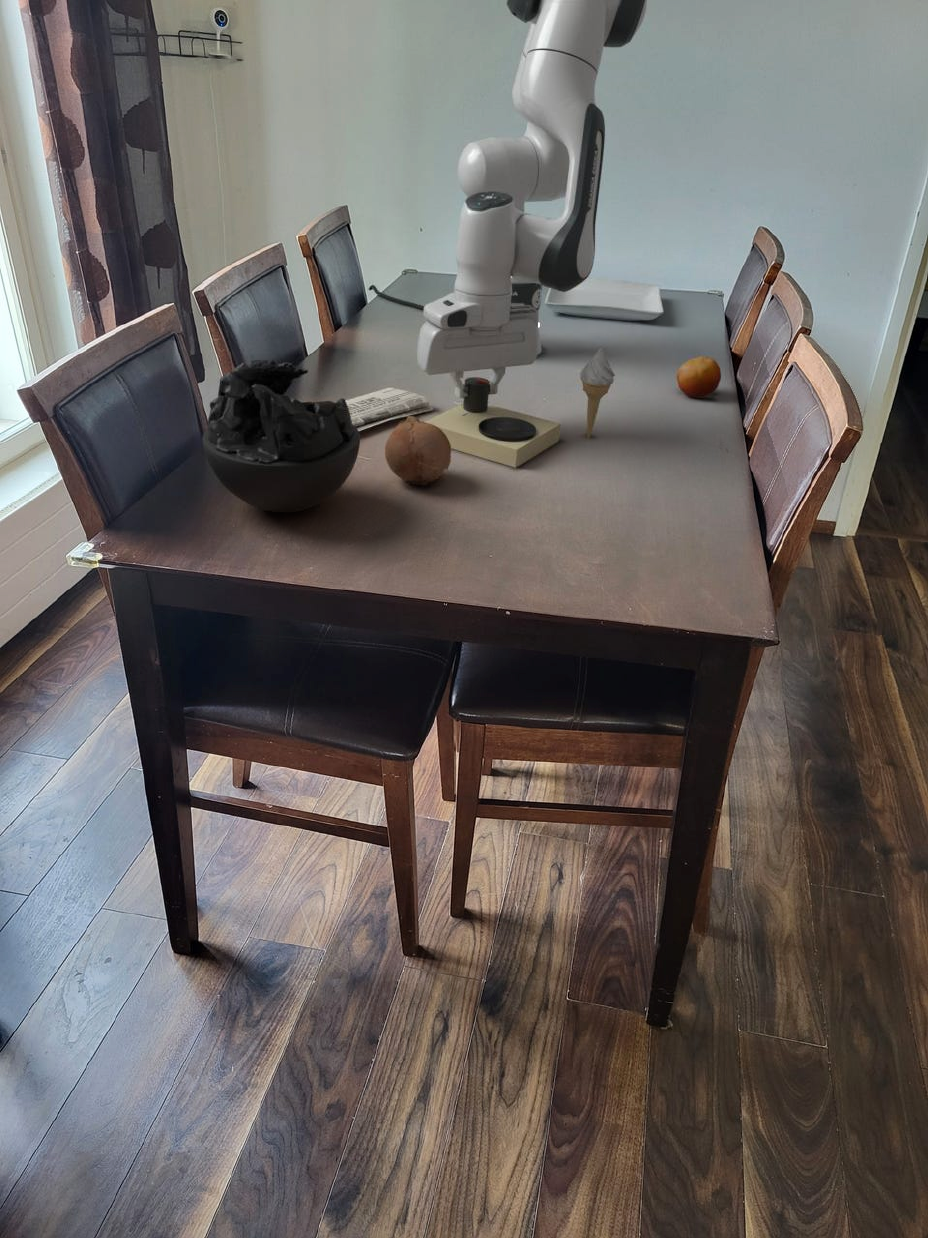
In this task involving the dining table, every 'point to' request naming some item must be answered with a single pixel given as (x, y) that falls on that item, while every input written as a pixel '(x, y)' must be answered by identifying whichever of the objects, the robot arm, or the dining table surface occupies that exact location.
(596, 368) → the ice cream cone
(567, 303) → the square plate
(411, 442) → the onion
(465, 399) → the hob knob
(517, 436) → the burner
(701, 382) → the fruit
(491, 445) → the hob
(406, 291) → the dining table surface
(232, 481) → the coal bowl
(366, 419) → the newspaper
